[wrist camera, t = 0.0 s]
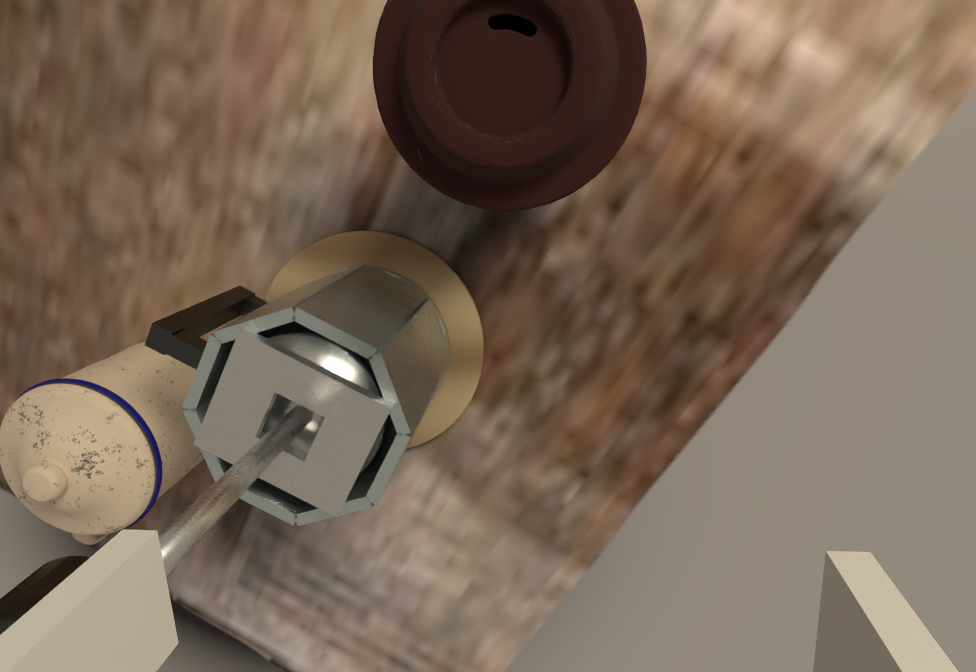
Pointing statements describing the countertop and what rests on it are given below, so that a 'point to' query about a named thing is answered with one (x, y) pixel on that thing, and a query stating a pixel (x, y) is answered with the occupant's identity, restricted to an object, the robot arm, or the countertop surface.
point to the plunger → (281, 429)
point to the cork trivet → (432, 279)
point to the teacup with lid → (100, 442)
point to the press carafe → (311, 384)
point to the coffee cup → (509, 93)
